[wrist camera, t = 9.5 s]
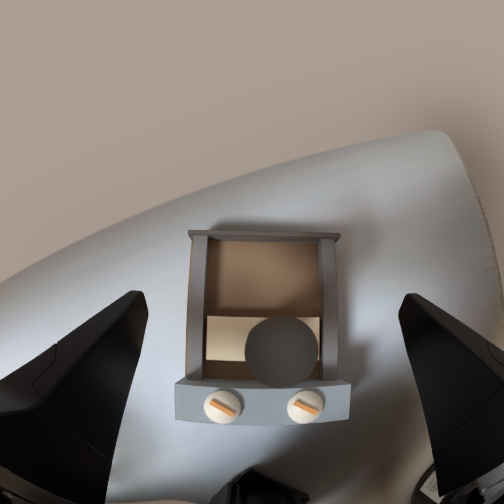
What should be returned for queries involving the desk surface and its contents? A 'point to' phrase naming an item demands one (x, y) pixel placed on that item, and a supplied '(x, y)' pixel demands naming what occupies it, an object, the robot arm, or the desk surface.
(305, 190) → the desk surface
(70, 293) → the desk surface
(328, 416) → the gauge cabinet
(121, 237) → the desk surface
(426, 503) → the ink bottle
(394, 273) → the desk surface
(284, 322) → the grey cylinder
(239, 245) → the open grey box
